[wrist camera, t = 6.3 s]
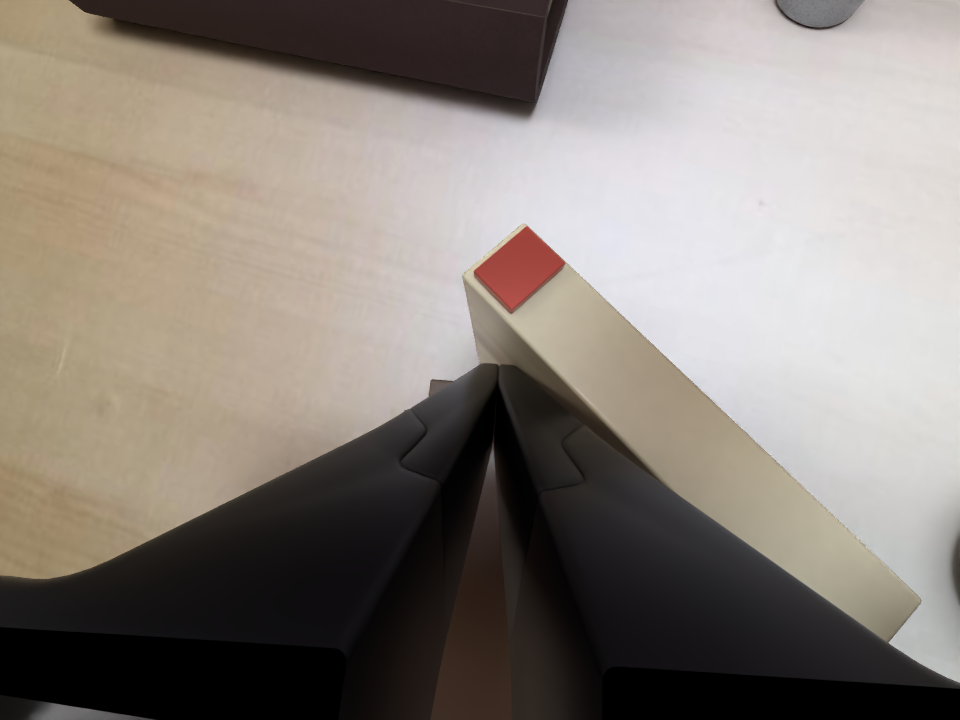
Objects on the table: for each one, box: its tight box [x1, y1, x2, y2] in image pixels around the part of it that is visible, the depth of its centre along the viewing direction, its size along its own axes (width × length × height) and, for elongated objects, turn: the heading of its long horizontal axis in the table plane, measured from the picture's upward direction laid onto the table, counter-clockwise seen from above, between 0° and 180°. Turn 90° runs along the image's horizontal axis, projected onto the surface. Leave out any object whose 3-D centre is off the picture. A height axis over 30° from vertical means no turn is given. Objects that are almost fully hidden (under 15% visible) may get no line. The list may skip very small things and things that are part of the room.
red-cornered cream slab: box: [462, 224, 921, 643], centre depth 10 cm, size 8×2×8 cm, turn 42°
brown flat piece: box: [404, 379, 512, 720], centre depth 15 cm, size 19×13×3 cm
